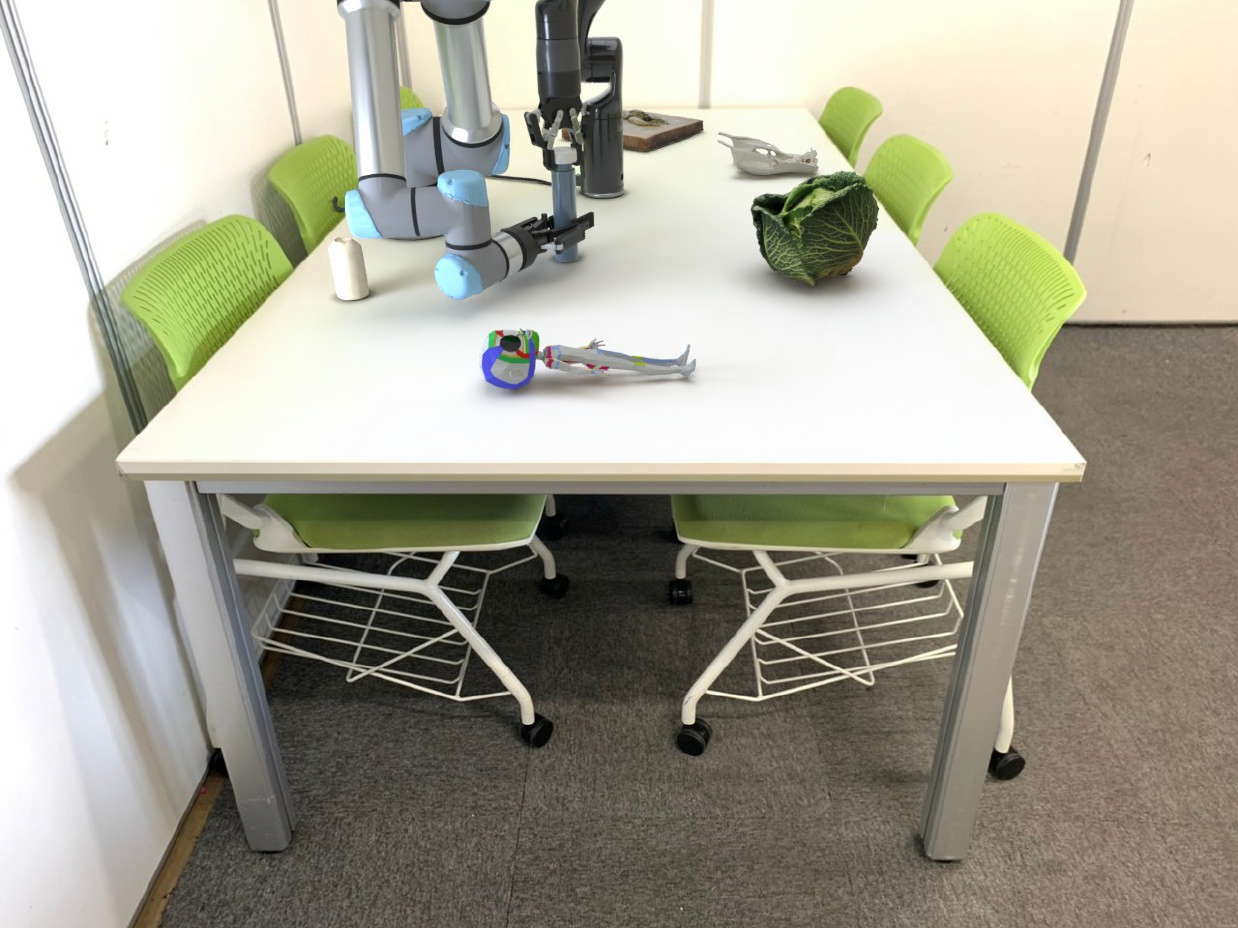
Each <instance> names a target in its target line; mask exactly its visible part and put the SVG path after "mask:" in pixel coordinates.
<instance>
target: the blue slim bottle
mask: <svg viewBox="0 0 1238 928" xmlns="http://www.w3.org/2000/svg"><path fill="white" fill-rule="evenodd" d="M575 175H576V167H573V165H572V163H570V164H555V170H554V171H550V177H551V179H550V180H551V183H552V186H551V199H552V215H553V219H554V229H556V228H559V227H562V226H565V225H568V224H571V223H572V220H574V219H576V218H578V209H577V208H578V206H577V205H578V204H577V186H576V178H575ZM554 257H555V261H557V262H559V263H573V262H577V261H578V260H579V243H577V244H575V245H573V246H571V247H570V248H568V249H566V250H564V252H563V253H562V254H556V252H555V251H554Z"/></svg>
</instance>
